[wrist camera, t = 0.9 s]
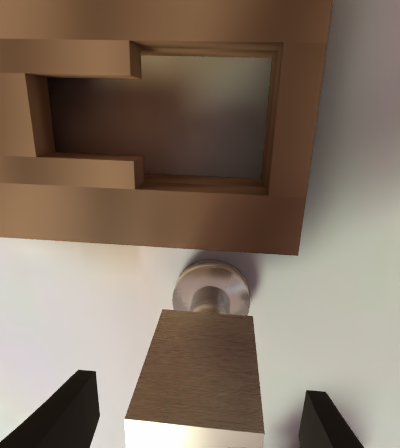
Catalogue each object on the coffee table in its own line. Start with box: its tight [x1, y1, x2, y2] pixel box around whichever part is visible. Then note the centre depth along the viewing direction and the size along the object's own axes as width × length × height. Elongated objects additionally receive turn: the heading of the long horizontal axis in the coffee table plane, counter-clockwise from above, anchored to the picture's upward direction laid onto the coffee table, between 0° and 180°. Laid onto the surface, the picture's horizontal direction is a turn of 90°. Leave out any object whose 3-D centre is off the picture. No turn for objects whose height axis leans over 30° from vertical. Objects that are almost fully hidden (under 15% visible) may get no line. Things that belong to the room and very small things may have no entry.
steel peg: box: [125, 260, 265, 448], centre depth 13 cm, size 4×4×10 cm
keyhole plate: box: [0, 0, 333, 256], centre depth 14 cm, size 14×10×3 cm
